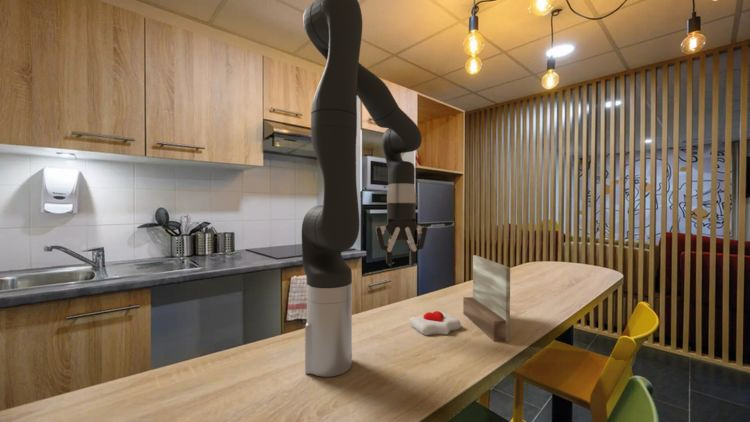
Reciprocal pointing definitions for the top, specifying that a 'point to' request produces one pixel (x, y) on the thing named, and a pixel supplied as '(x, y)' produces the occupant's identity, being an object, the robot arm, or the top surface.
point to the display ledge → (490, 299)
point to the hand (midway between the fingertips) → (401, 265)
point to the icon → (435, 323)
